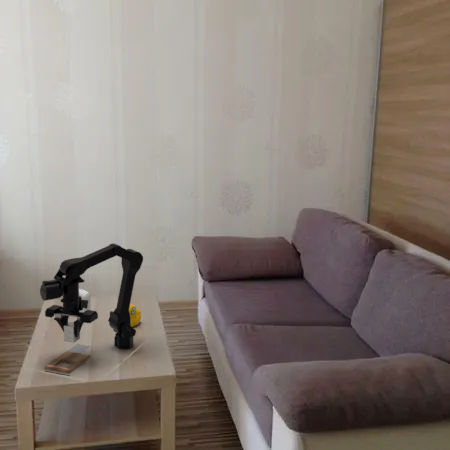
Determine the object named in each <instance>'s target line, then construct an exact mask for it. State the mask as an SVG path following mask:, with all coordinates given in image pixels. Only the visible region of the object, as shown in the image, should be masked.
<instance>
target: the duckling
mask: <svg viewBox="0 0 450 450" xmlns="http://www.w3.org/2000/svg"><path fill="white" fill-rule="evenodd" d="M129 313H130V318H131V325H130V326H131V327H133V328H134V327H135V326H137V325H138V324H139V322H140V321H141V317H142V316H141V315H142V314H141V311H140V309H138V308H137V307H136V306H135V305H134V304H132V303H130V307H129Z"/></svg>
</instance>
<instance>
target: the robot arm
mask: <svg viewBox="0 0 450 450" xmlns="http://www.w3.org/2000/svg"><path fill="white" fill-rule="evenodd" d="M114 257H119V258H121V261H120V262H121V268H122V275H121V281H120V283H121V284H120V288H119V293H118V298H117V303H116V307H115V309H114V311H109V318H108V320H107V321H108V323H109V324H108V325H109V327H110V328H111V329H112V330H113V332H115V336H114V337H113V338H114V341H113V343H114V347H115V348H117V349H120V350H130V349H131V348H133V347H134V337H135V336H136V333H137V330H136V329H135V327H134V326H133V327H131V326H130V325H131V318H130V313H129V307H130V304H131V300H132V295H133V290H134V285H135V279H136V276H137V273H139V271H140V270H141V268H142V265H143V261H144V257H143V254H142V253H141V252H139V251H137V250H134V249H132V248H127V249H126V248H124V247H122V246H120V245H119V244H117V243H110V244H108V245H107V246H105V247H102V248H101V249H98V250H96V251H93V252H91V253H89V254H86V255H84V256H81V257H73V258H68V259H64V260H63V261H62V262H61V264H60V265H59V269H58V271H57V272H55V273H56V274H55V275H54V277H53V279H51V280H50V279H49V280H42V281H41V282H42V283H41V286H40V288H39V293H40V297H41V300H42V301H43V302H46V301H50V300H54V299H60V298H61V297H62V298H61V299H60V303H62V305H57V304H53V305H50V306H49V307H47V308H46V309H45V310H44V313H45V314H44V316H45V317H46V318H51V319H52V318H54V321H56V322H57V324H58V325H59V327H60V328H61V330H62V332H63V333H64V325H66V324H67V323H69V318H70V317H74V318H76V319H75V320H74V321H73V322H74V329H75V335H76V337H78V336H79V333H81V330H82V327H83V326H84V324H91V323H93V322H94V321H96V320H98V319H99V314H98V312H97V311H96V310H92V309H91V310H87V311H85V312H79V311H80V310H83V308H86V309H87V306H88V300H82V298H81V296H79V289H80V284H81V283H85V279H83V277H81V276H82V275H84V274H85V273H86V271H88V269H90V268H92V267H94V266H97V265H98V264H101V263H103V262H106V261H108V260H110V259H113V258H114ZM54 316H55V317H54Z"/></svg>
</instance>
